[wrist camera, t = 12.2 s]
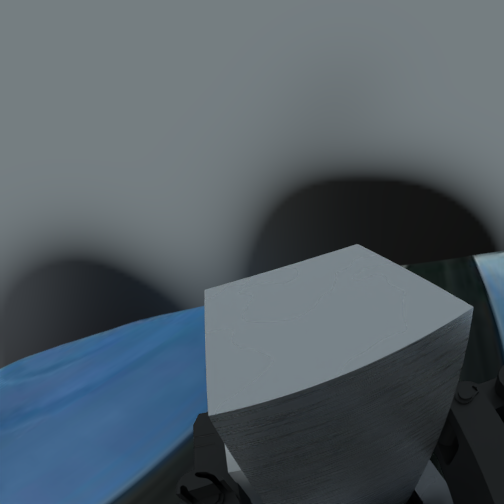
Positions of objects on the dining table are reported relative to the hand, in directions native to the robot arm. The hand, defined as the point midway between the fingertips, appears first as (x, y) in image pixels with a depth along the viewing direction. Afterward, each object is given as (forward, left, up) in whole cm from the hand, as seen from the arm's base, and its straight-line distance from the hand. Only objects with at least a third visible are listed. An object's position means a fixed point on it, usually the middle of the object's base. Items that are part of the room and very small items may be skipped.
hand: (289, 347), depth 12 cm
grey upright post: (0, -5, -7) cm, 9 cm away
